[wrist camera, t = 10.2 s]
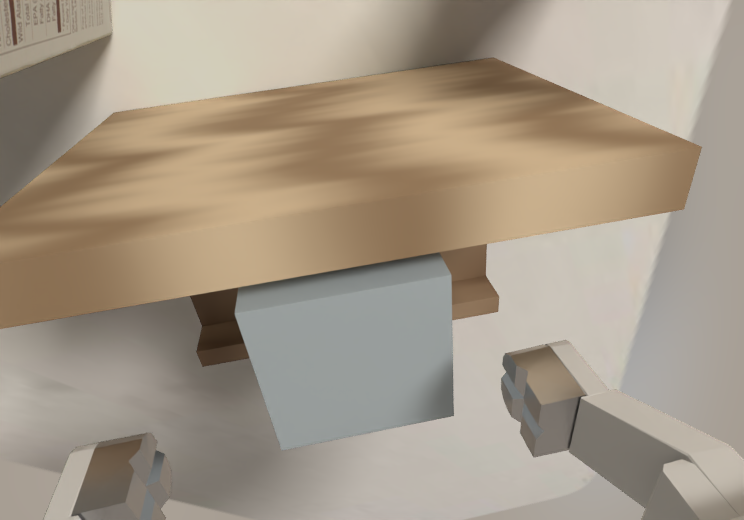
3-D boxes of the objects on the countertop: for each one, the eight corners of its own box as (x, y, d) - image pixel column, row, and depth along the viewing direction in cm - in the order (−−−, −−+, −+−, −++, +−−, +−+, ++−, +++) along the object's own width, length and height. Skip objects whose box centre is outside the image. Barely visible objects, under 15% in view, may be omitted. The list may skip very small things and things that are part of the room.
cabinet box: (288, 320, 20) (288, 471, 14) (253, 189, 16) (234, 313, 10) (404, 299, 20) (454, 437, 14) (393, 166, 17) (451, 275, 11)
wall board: (182, 281, 23) (103, 516, 13) (113, 112, 19) (-84, 276, 9) (487, 229, 25) (626, 408, 15) (493, 57, 20) (701, 146, 10)
